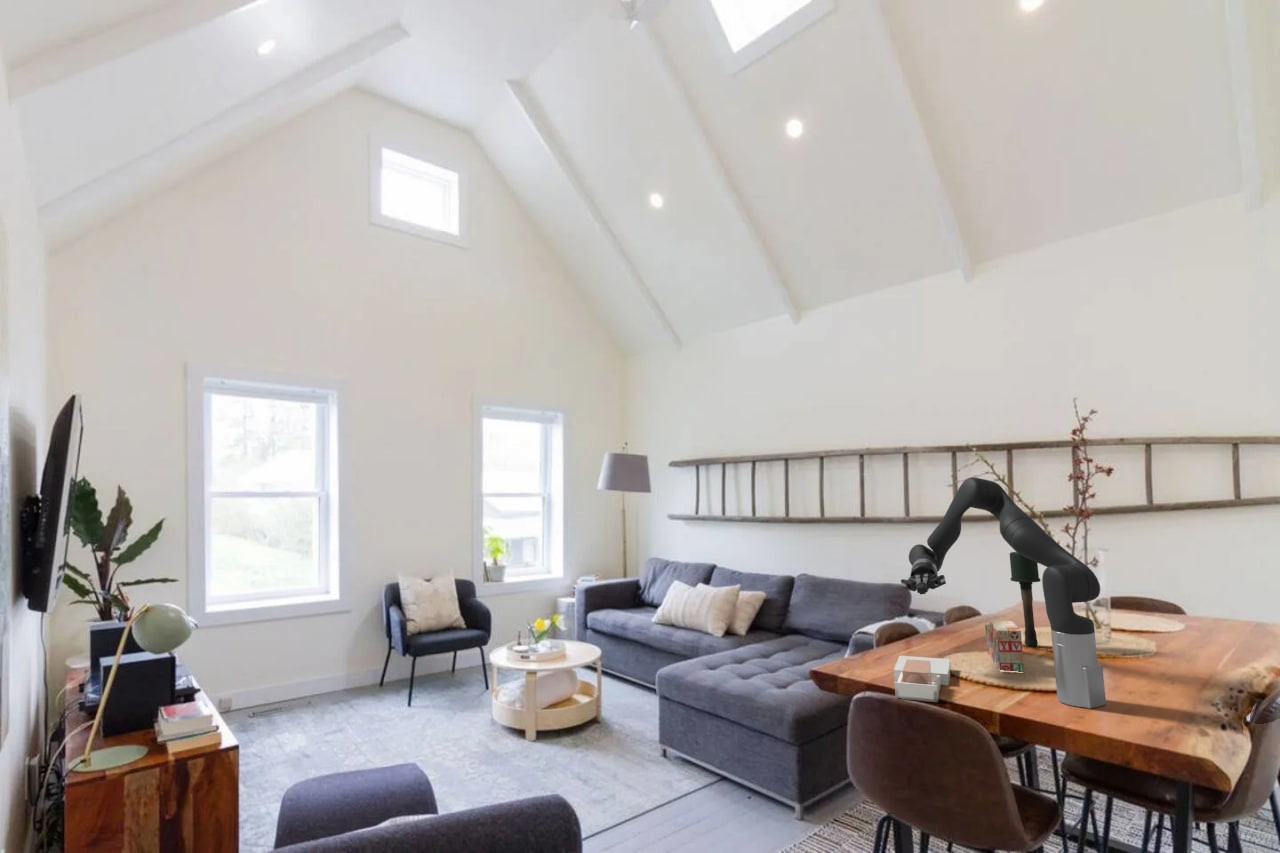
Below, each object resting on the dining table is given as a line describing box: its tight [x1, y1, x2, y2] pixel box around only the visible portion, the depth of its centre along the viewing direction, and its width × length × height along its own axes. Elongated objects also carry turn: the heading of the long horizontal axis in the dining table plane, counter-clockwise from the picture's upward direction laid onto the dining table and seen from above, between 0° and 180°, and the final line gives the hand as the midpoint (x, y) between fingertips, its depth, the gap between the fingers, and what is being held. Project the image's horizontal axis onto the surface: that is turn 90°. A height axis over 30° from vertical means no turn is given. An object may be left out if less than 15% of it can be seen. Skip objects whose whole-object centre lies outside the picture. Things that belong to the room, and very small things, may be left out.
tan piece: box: [902, 659, 932, 685], centre depth 179 cm, size 6×6×13 cm
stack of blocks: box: [984, 620, 1025, 673], centre depth 201 cm, size 21×6×12 cm, turn 161°
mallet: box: [1009, 551, 1041, 648], centre depth 219 cm, size 8×9×30 cm
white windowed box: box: [893, 655, 952, 686], centre depth 193 cm, size 16×14×3 cm
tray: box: [894, 672, 942, 703], centre depth 179 cm, size 15×10×4 cm, turn 153°
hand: (922, 590), depth 194 cm, fingers closed
